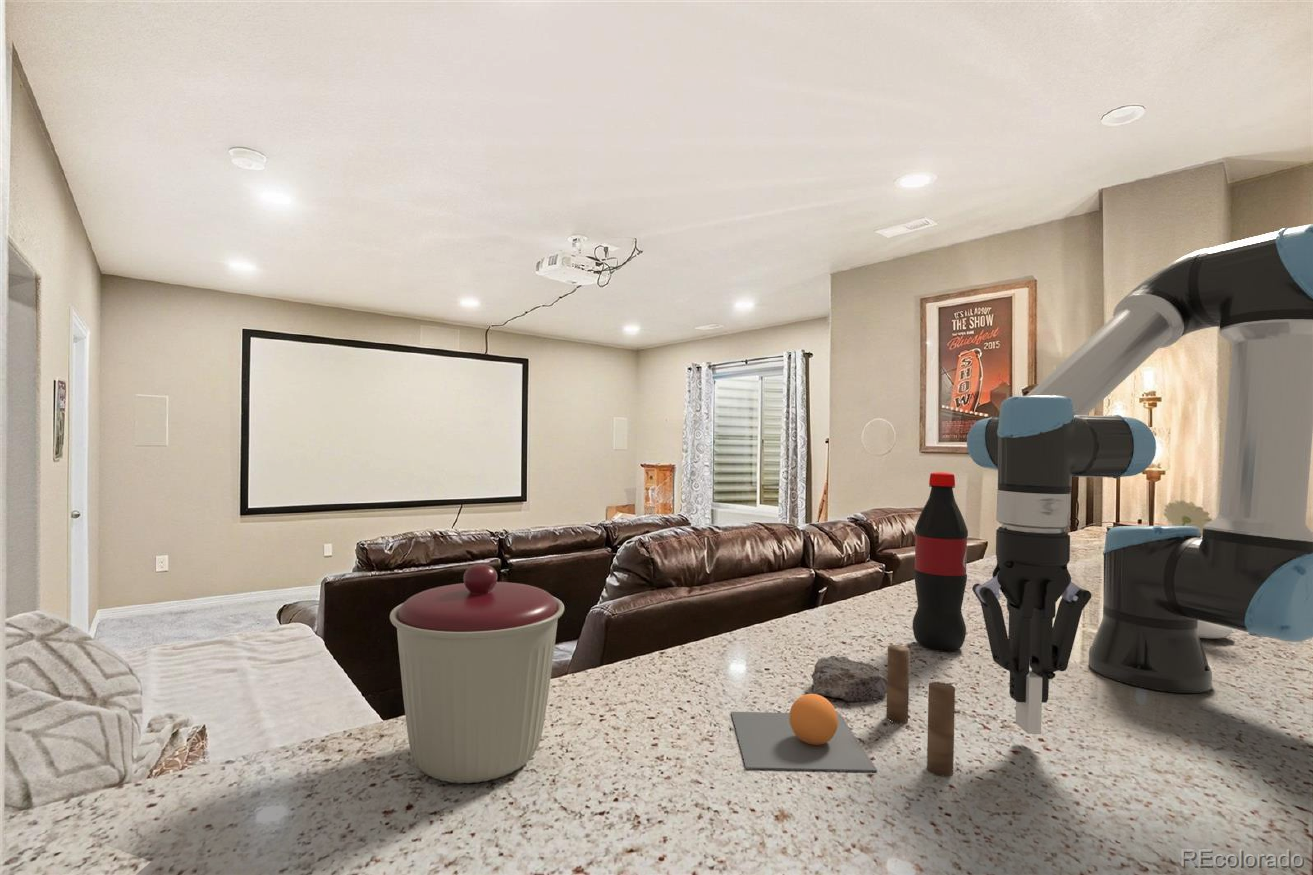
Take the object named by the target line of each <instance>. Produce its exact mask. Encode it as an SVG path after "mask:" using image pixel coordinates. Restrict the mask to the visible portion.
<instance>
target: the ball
mask: <svg viewBox="0 0 1313 875" xmlns="http://www.w3.org/2000/svg"><path fill="white" fill-rule="evenodd" d="M789 713H790V715H789V719H790V725H791V728H792V730H793V732H794V733H795V735H796V736H797V737H798V738H799V739H800V740H802V741H803V742H805V743H807V744H810V745H821V744H824V743H826V742H828V741H829V740H831V739H832V737H833V736H834V735H835V733H836V730H837V727H838V717H837V714H838V713H837V711H836V709H835V707H834V706H833V703H831V702H830V701H829V700H828V699H827V698H826V697H824V696H821V695H818V694H816V693H806V694H803V695H801V696H800V697H798V698H796V699H795V701H794V702H793V703H792V705H791V706H790V710H789Z"/></svg>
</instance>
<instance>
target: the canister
mask: <svg viewBox="0 0 1313 875" xmlns="http://www.w3.org/2000/svg"><path fill="white" fill-rule="evenodd" d="M564 612H565V605H564V603H563V602H562V600H560V599H559V598H557V597H555V596H553V595H552V594H551V593H549V592H548V591H547V590H544V589H542V588H540V587H537V586H534V585H533V586H532V585H529V584H526V583H517V582H509V581H498V573H497V571H496V569H495V568H494V567H493V566H491V565H488V564H482V563H481V564H475V565H471V566H470V567H467V569H466V570H465V572H464V573H463V583H462V582H461V583H454V584H448V585H443V586H442V585H441V586H436V587H433V588H429V589H426V590H423V591H420V592H418V593H416V594H413V595H412V596H410V597H409V598H407V599H406V600H405V601H404V602H403V603H400V604H399V605H397V606H395V607H394V608H393V609H392V610H391V612H390V614H389V620H390V622H391V624H392V625H393V626H394V627H395V628H396V634H397V635H396V636H397V644H398V645H397V646H398V647H397V648H398V656H399V667H400V678H401V687H402V688H401V689H402V699H403V707H404V715H405V723H406V730H407V739H408V746H409V749H410V752H411V756H412V758H413V760H414V762H415V764H416V765H417V766H418V768H419V769H420V771H422V772H423V773H424V774H426V775H427V776H429V777H432V778H433V779H434V780H440V781H442V782H449V784H451V783H452V784H453V783H457V784H464V783H466V784H472V783H477V784H478V783H480V782H488V781H490V780H496V779H498V778H501V777H505V776H506V775H510V774H513V773H514V772H515V771H517V770H519V769H520V768H522V766H523V767H524V766H525V765H526V764H527V763H528V761H530V760H531V759H532V758H533V756H534V754H535V753H536V751H537V749H538V747H539V744H540V742H541V738H542V734H543V731H544V725H545V719H546V712H547V706H548V699H549V692H550V686H551V679H552V678H551V677H552V670H553V661H554V653H555V646H556V639H557V638H556V637H557V628H558V619H560V617H562V616H563V614H564Z"/></svg>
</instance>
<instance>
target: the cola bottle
mask: <svg viewBox="0 0 1313 875" xmlns="http://www.w3.org/2000/svg"><path fill="white" fill-rule="evenodd" d="M955 479H956V478H955V474H953V473H949V472H942V471H939V472H932V473H930V475H929V482H928V483H929V485H928V487H931V489H930V493H929V495H928V496H929V497H928V499H927V501H926V502H925V505H924V507H923V509H922V511H921V512H920V514H919V517H918V519H917V522H916V523H915V526H914V533H915V538H914V539H915V541H914V542H915V546H914V550H915V551H914V570H913V577H914V578H913V579H914V585H915V593H916V599H917V607H916V608H917V609H916V611H915V613H914V616H913V618H912V619H913V620H912V633H913V637H914V640H915V641H916V643H917V644H919V645H920V646H921V647H922V648H926V649H928V650H931V651H936V652H948V653H949V652H955V651H958V650H960V649H961V648H962V646H963V644H964V643H965V640H966V636H967V626H966V622H965V619H964V617H963V611H962V607H963V602H964V596H965V591H966V586H967V582H968V574H967V557H968V555H967V554H968V553H967V552H968V536H969V530H968V527H967V524H966V522H965V520H964V517H963V515H962V512H961V510H960V508H959V506H958V504H957V502H956V499H955V495H954V489H955V488H956V480H955Z"/></svg>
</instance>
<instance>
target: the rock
mask: <svg viewBox="0 0 1313 875" xmlns="http://www.w3.org/2000/svg"><path fill="white" fill-rule="evenodd" d="M880 671H881V670H880V669H879V668H878V667H876V666H874V665H872V664H870V663H866V662H860V661H854V660H851V659H849V658H848V657H845V656H835V655H830V656H828V657H822V658H821V657H820V658H819V659H818V660H817V662H816V663H815V664H814V669H813V673H812V674H811V678H812V683H813V691H814V694H817V695H820V696H822V697H824V696H825V697H829V698H834V699H836V698H837V699H840V700H841V699H843V700H845V701H846V702H853V701H857V702H861V701H868V700H875V699H874V698H876V699H881V698H884V696H886V695H887V678H886V677H885V676H884V674H882V673H881V672H880ZM880 697H881V698H880ZM860 700H861V701H860ZM853 703H854V702H853Z"/></svg>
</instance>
